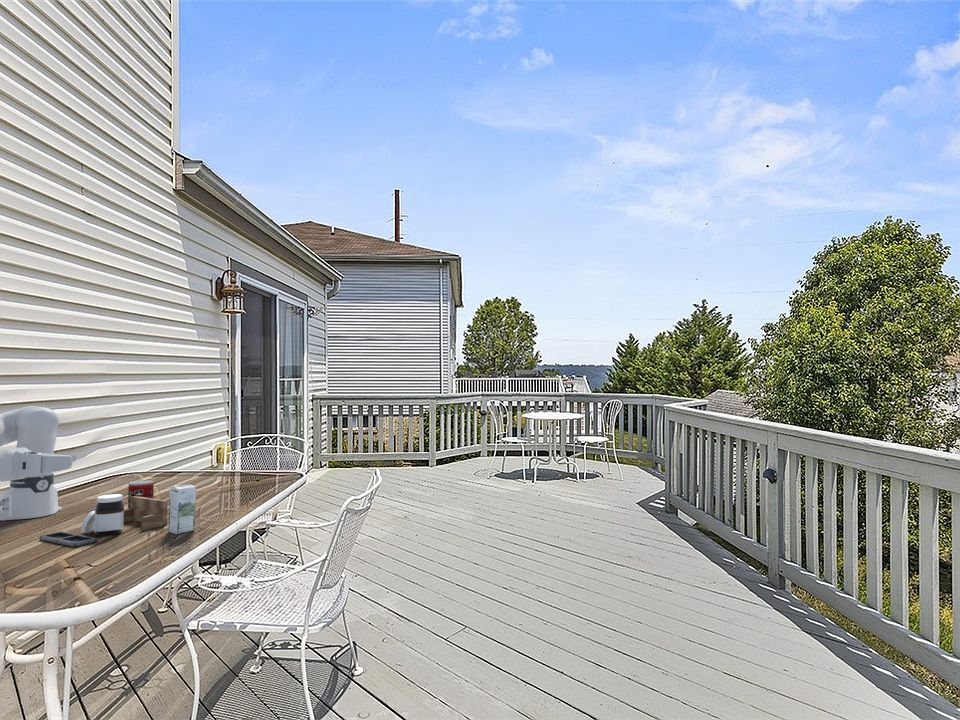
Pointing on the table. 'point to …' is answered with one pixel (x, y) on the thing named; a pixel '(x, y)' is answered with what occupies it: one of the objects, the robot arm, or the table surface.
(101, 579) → the table surface
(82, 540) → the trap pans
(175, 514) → the syrup box
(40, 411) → the robot arm
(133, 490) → the canned food
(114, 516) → the spread jar
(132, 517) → the brown box
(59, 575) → the table surface
